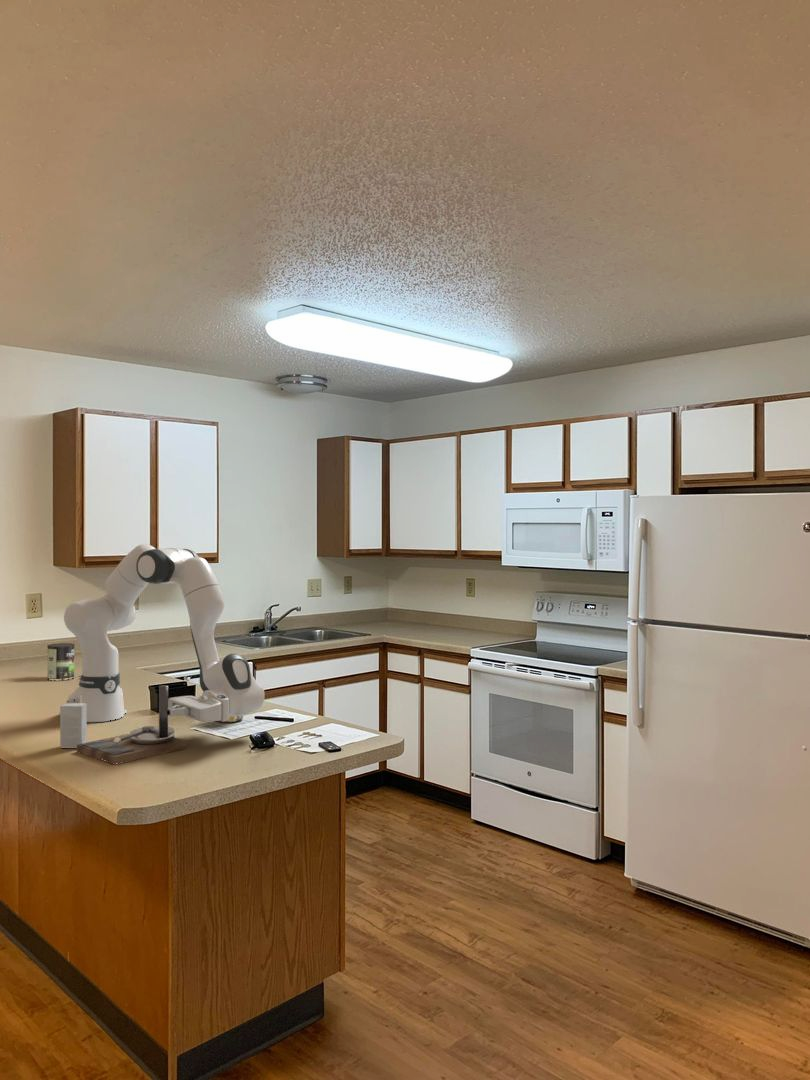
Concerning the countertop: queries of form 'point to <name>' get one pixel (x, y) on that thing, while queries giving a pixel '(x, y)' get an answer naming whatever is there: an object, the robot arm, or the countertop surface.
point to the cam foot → (158, 732)
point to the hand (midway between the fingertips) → (168, 712)
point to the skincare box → (73, 725)
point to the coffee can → (60, 660)
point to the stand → (127, 749)
